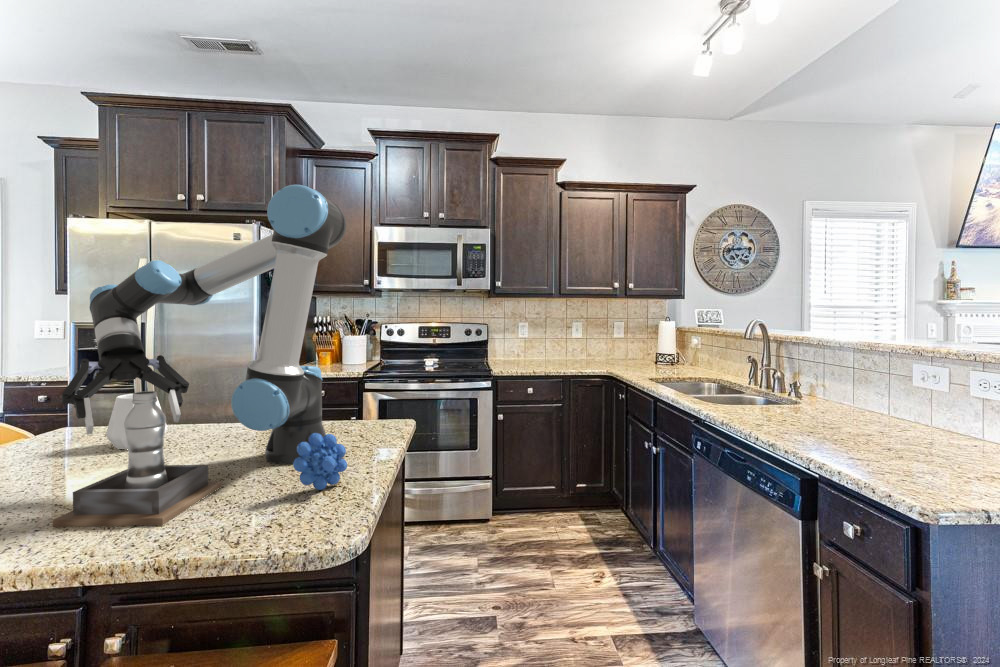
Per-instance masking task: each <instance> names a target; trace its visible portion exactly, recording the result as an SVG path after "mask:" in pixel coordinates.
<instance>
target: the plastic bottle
mask: <svg viewBox="0 0 1000 667" xmlns="http://www.w3.org/2000/svg"><path fill="white" fill-rule="evenodd" d="M132 394H133V401H132V403H133V404H134V407H133V408H132V410H131V411H130V412H129V413H128V415H127V416H126V418H125V421H124V428H125V433H126V438H127V444H128V450H127V451H128V453H127V454H128V463H127V469H128V474H127V475H128V476H127V478H126V483H125V489H157V488H159V487H160V486H162V485H164V484H166V483H168V478H167V473H166V470H165V457H164V456H165V455H164V445H165V444H164V443H165V442H164V441H165V440H164V439H165V434H164V432H165V425H167V417H166V414H165V412H164V411H163V409H162V408H161V409H160V408H159V407H158V406H157V405H156V402H157V401H159V399H158V400H157V398H158V396H157V394H158V393H157V391H156V390H148V391H147V390H146V391H138V392H133V393H132ZM165 433H166V432H165Z"/></svg>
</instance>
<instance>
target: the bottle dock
mask: <svg viewBox="0 0 1000 667" xmlns="http://www.w3.org/2000/svg"><path fill="white" fill-rule="evenodd" d="M165 470H166V473H167V478H168V483H166V484H164V485H162V486H160V487H159V488H157V489H125V483H126V478H127V476H128V475H127V474H128V468H126V469H124V470H122V471H119V472H117V473H115V474H113V475H110V476H107V477H105V478H103V479H100V480H98V481H96V482H93V483H91V484H89V485H86V486H83V487H82V488H79V489H76V490H74V491H72V510H71V511H69V512H67V513H64V514H62V515H60V516H58V517H56V518H54V519H52V527H53V528H55V527H57V528H58V527H59V528H63V527H67V528H68V527H69V526H72V527H117V526H118V527H123V526H124V527H125V526H130V525H139V526H163V524H164V525H165V524H166V522H167V523H168V522H170V521H172V520H173V519H175V518H176V517H177V515H178V516H179V515H181V514H182V513H184V512H185V511H187V510H188V509H187V508H189V507H190V506H192V505H193V504H195V503H196V502H198V501H199V500H201V499H202V498H204V497H206V496H207V495H208V494H210V493H212V492H213V491H215V490H216V491H218V490H219V489H221V488H223V480H209V464H172V465H171V464H170V465H169V464H166V465H165ZM220 487H221V488H220ZM218 488H219V489H218ZM217 489H218V490H217ZM216 491H215V492H216ZM213 493H214V492H213ZM213 493H212V494H213ZM210 495H211V494H210ZM207 497H208V496H207ZM207 497H206V498H207ZM204 499H205V498H204ZM202 500H203V499H202ZM202 500H201V501H202ZM199 502H200V501H199ZM199 502H198V503H199ZM196 504H197V503H196ZM196 504H195V505H196ZM193 506H194V505H193ZM193 506H192V507H193ZM190 508H191V507H190ZM190 508H189V509H190ZM186 509H187V510H186ZM183 511H184V512H183ZM180 513H181V514H180ZM175 516H176V517H175ZM174 517H175V518H174ZM172 518H173V519H172ZM169 520H170V521H169Z"/></svg>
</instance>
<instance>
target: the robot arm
mask: <svg viewBox="0 0 1000 667" xmlns="http://www.w3.org/2000/svg"><path fill="white" fill-rule="evenodd" d="M266 211H267V220H268V221H269V223H270V226H271V227H272V229H273V232H272V234H269V235H268V236H266V237H263V238H261V239H259V240H256V241H255V242H252V243H249V244H247V245H245V246H243V247H241V248H238V249H237V250H233V251H232V252H229V253H227V254H224V255H223V256H220V257H218V258H215V259H213V260H210V261H209V262H207V263H204V264H202V265H200V266H197V267H196V268H193V269H191V270H189V271H187V272H183V273H179V272H178V270H176V269H175V268H174V267H173V266H171V265H170V263H165V261H163V260H160V259H159V260H158V259H154V260H151V261H149V262H148V263H146V264H144V265H143V266H141V267H139V268H138V269H137V270H135V272H133V273H132V274H130V275H129V276H128V277H126V278H125V279H124V280H123V281H122V282H120V283H119V284H105V285H103V286H97V287H96V288H94V289H93V290H92V291H91V293H90V294H89V311H90V314H91V318H92V324H93V329H94V335H95V341H96V346H97V353H98V361H90V359H88V358H82V359H80V366H79V369H78V370H77V372H76V373H75V375H74V376H73V378H72V379H71V381H70V382H69V383H68V385H67V386H66V388H65V389H64V391H63V392H62V394H61V401H60V403H61V404H62V405H65V406H66V405H69V404H70V405H73V407H74V409H75V415H76V418H77V419H84V424H85V429H86V435H92V434H93V433H94V424H95V423H94V420H93V413H92V405H91V398H92V397H93V396H94V395H95V394H97V392H98V391H100V390H101V389H102V388H103V387H104V386H106V385H107V384H109V383H110V382H111V381H113V380H116V381H123V380H124V381H125V380H131V381H132V380H136V379H139V380H141V381H142V382H147V383H149V384H150V385H153V386H154V387H156V388H158V389H160V390H161V391H163V392H165V393H168V397H167V399H168V404H169V407H170V411H171V414H172V420H173V422H174V423H179V422H180V418H181V416H182V413H181V409H180V407H182V406H183V402H184V399H183V395H182V394H185V393H186V394H187V392H188V390H189V387H190V382H189V381H187V380H186V379H185V378H184V377H183V376H182V375H181V374H180V373H178V372H177V371H176V370H175V369H174V368H173V367H172V365H170V364H168V363H167V361H166V358H165V357H164V355H161V354H159V355H158V356H157V357H156V358H148V357H147V356H146V353H145V350H144V347H143V346H144V345H143V342H142V338H141V333H140V330H139V325H138V320H137V319H138V318H139V317H140V316H141V315H142V314H144V313H146V312H147V311H148V310H150V309H151V308H152V307H154V306H155V305H156V304H169V305H173V304H174V305H187V306H197V305H199V306H200V305H203V304H207V303H208V302H210V300H211V299H212V298H213V296H215V295H216V294H219V293H221V292H223V291H225V290H227V289H230V288H232V287H235V286H237V285H239V284H242V283H243V282H246V281H248V280H251V279H253V278H255V277H257V276H260V275H261V274H264V273H266V272H269V271H271V270H273V274H272V279H271V284H270V290H269V295H268V300H267V305H266V311H265V316H264V320H263V321H264V322H263V326H262V331H261V337H260V343H259V348H258V353H257V357H256V358H255V359H254V360H253V361H252V362H250V363H248V365H247V369H246V374H245V379H244V380H243V381H242V382H241V383H240V384H239V385H238V386H237V387H236V388H235V389H234V391H233V393H232V396H231V400H230V401H231V402H230V403H231V405H230V406H231V409H232V412H233V415H234V416H235V418H237V420H238V421H239V423H240V424H241V425H242V426H244V427H246V428H247V429H250V430H253V431H258V432H265V431H270V430H271V432H270V434H269V438H268V441H267V444H266V447H265V450H264V451H265V454H264V456H265V457H264V458H265V461H267V462H268V463H273V464H279V465H280V464H282V465H283V464H284V465H287V464H291V465H292V464H293V462H294V460H295V459H296V458H297V457H302V456H300V455H299V454H298V452H297V446H298V445H299V444H300V443H301V442H308V443H309V437H310V435H311V434H313V433H319V434H320V435H322V437H324V436H325V435H327V433H326V430H325V428H324V425H323V377H322V370H321V368H320V367H318V366H315V365H300V359H301V355H302V347H303V343H304V337H305V334H306V328H307V322H308V318H309V317H308V316H309V312H310V307H311V301H312V297H313V291H314V287H315V281H316V276H317V271H318V267H319V263H320V261H321V260H322V259H323V260H324V258H325V257H327V256H328V252H329V249H332V248H333V247H335V246H337V245H338V244H339V243H340V242H341V241H342V240H343V238H344V237H345V234H346V232H347V220H346V216H345V213H344V212H343V210H342V209H341V208H340V207H339V205H337V204H336V203H335V202H333V201H331V200H330V199H328V198H327V197H325V196H324V195H323V194H322V193H321V192H320V191H318V190H316V189H313V188H311V187H309V186H306V185H302V184H289V185H287V186H284V187H282V188H280V189H279V190H277V191H276V192H275V193H274V194H273V195H272V197H271V198H270V200H269V201H268V205H267V210H266ZM150 366H151V367H150ZM152 367H153V368H154V369H155V370H157V371H158V372H159V373H158V372H156V371H154V370H153V369H152ZM95 369H97V370H99V371H100V372H101V373H99V375H98V376H97V375H96V377H95V378H94V379H92V380H91V381H90V382H89V383H88V384H87V385H85V387H83V388H82V389H81V390H80V388H81V387H82V385H83V383H85V380H86V379H87V378H88V374H91V373H93V372H94V370H95ZM79 390H80V391H79Z"/></svg>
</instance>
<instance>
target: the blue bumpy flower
mask: <svg viewBox="0 0 1000 667" xmlns="http://www.w3.org/2000/svg"><path fill="white" fill-rule="evenodd" d="M337 440H338V439H337V437H336V435H334V434H332V433H326V435H325V436H324V437H322V435H320V434H319V433H313V434H311V435H310V437H309V443H308V442H301V443H300V444H299V445H298V446H297V452H298V454H299V455H300V456H302V457H297V458H296V459H295V460H294V462H293V463H292V467H293V469H294V470H295V471H296V472H298V473H300V474H299V480H300V482H301V485H304V486H310V485H312V486H313V487H314V489H316V490H317V491H322V490H325V489H326V487H327V486H328V484H329V485H330V486H331V485H333V486H334V485H337V484H338V483H339V482H340V480H341V475H340V473H343V472H345V471H347V468H348V462H347V460H346V459H345V458H344V457H345V456H346V454H347V449H346V447H345V445H343V444H341V443H338V441H337Z"/></svg>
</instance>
